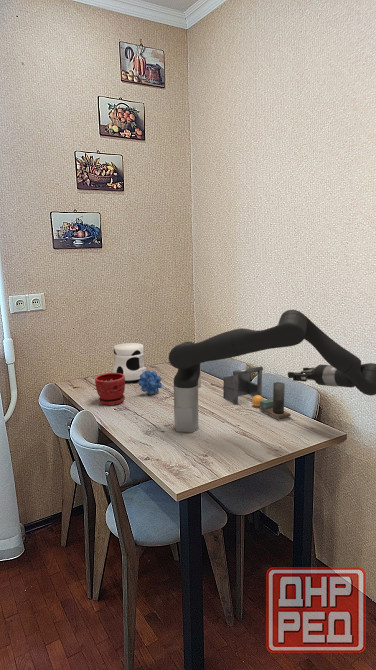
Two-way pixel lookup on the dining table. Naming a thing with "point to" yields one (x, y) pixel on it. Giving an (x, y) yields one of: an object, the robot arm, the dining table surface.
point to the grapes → (150, 382)
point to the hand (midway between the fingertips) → (296, 372)
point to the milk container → (129, 361)
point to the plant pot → (110, 388)
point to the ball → (257, 400)
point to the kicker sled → (275, 402)
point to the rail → (276, 417)
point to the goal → (242, 384)
